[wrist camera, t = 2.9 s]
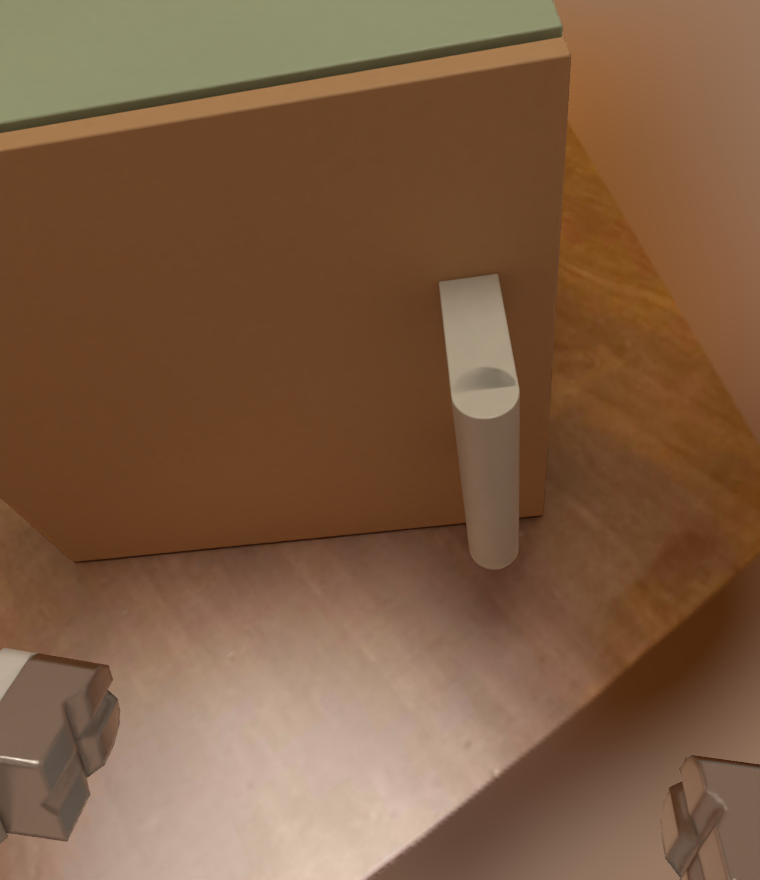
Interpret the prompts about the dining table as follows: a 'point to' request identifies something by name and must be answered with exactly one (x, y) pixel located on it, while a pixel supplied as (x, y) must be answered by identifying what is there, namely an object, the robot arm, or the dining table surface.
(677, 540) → the dining table surface
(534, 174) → the door
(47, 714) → the robot arm
